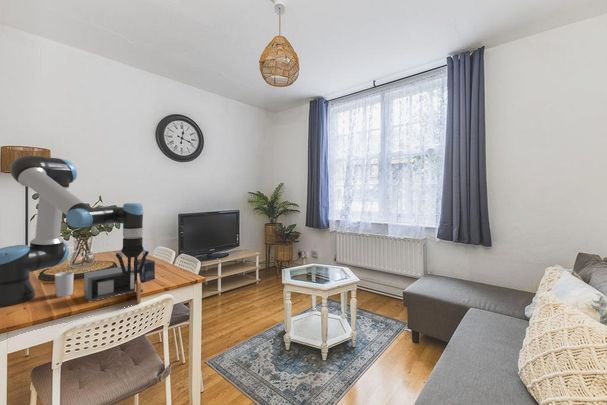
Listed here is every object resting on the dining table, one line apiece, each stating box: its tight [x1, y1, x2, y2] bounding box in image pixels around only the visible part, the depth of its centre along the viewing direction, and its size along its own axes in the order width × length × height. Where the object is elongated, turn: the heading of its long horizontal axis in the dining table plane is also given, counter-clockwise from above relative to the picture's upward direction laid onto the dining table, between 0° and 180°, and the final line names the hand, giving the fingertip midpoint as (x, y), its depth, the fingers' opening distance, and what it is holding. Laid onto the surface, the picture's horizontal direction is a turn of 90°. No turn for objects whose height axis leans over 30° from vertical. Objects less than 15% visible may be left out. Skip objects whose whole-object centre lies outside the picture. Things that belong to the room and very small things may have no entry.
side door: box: [135, 273, 144, 304], centre depth 121 cm, size 16×2×9 cm, turn 36°
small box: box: [137, 258, 156, 283], centre depth 145 cm, size 11×6×10 cm, turn 62°
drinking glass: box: [54, 270, 75, 298], centre depth 121 cm, size 7×7×10 cm
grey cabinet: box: [83, 265, 136, 303], centre depth 124 cm, size 18×10×11 cm, turn 138°
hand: (132, 287), depth 118 cm, fingers closed
